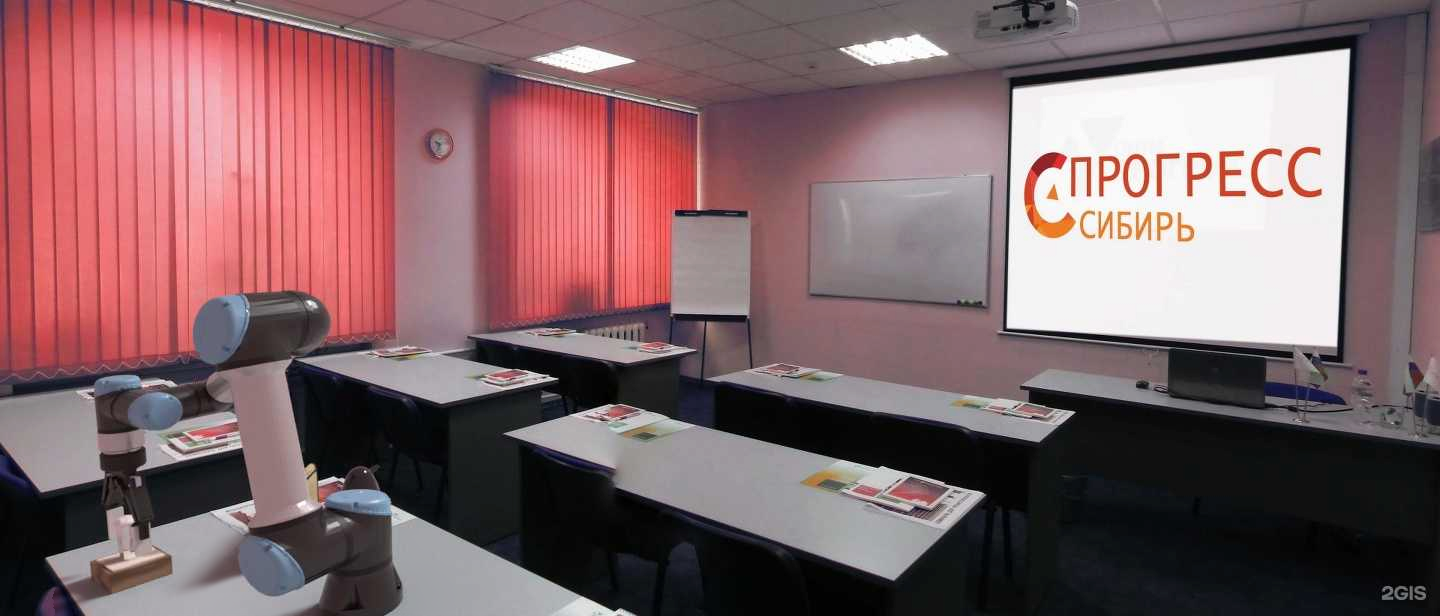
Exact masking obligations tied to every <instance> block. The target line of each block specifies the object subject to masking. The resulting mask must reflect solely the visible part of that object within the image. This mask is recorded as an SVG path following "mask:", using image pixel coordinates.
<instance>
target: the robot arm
mask: <svg viewBox="0 0 1440 616" xmlns="http://www.w3.org/2000/svg"><path fill="white" fill-rule="evenodd" d="M331 319H332V318H331V314H330V312H329V310H328V308H327V307H326V305H325V303H324V302H323V301H322V300H321V299H319V298H318V297H316V296H315V295H313V294H310V293H308V292H306V291H302V290H295V289H294V290H292V289H290V290H288V289H287V290H282V291H281V290H280V291H264V292H263V291H262V292H247V293H246V292H245V293H232V294H228V295H221V296H215V297H213V298H210V299H208V300H207V301H206V302H205V303H203V304H202V305H201V307H200V308H199V309H198V312H197V314H196V316H195V318H194V321H193V325H192V327H193V328H192V343H193V347H194V350H195V352H196V354H197V355H199V359H200V360H201V361H202V362H205V363H207V364H209V365H213V366H214V367H215V372H213V373H212V374H210V375H209V376H208V377H207V378H206V379H205V380H201V381H196V382H191V383H186V384H181V385H174V386H169V387H163V388H157V389H152V390H151V389H150V390H146V389H143V385H142V382H141V378H140V376H137V375H134V374H121V375H119V374H118V375H111V376H105V377H102V378H98V379H97V380H96V381H95V382H94V385H93V387H94V395H93V400H94V408H95V418H96V429H97V432H96V435H97V436H96V437H97V447H98V448H97V449H98V451H100V453H99V454H98V456H99V469H100V470H101V472H102V471H103V472H104V479H103V486H102V494H101V501H100V503H101V505H104V508H105V509H106V521H107V522H106V523H107V531H108V532H107V534H108V540H114V539H117V538H116V534H115V529H114V525H113V523H114V522H115V521H116V520H117V519H118V518H120V517H122V516H125V512H124V511H125V510H124V505H126V504H125V501H124V499H125V500H126V503H127V506H128V509H129V512H130V515H132V517H133V520H134V523H132V525H131V527H133V536H134V549H135V555H136V556H138V555H142V554H145V553H148V552H151V551H152V545H153V543H152V542H153V541H152V529H151V523H152V522H155V521H156V517H155V514H154V511H153V507H152V506H153V505H152V502H151V499H150V494H149V492H148V487H147V480H146V476H145V475H144V474H143V475H140V474H139V473H138V469H139V468H140V467H143V466H145V465H146V464H147V449H146V447H145V446H144V445H145V444H146V440H145V439H146V438H145V434H147V432H148V431H149V432H150V431H153V432H154V431H155V432H156V431H157V432H160V431H165V430H168V429H170V428H172V427H173V426H174V425H176V424H177V423H180V422H183V421H188V420H189V421H190V420H192V419H196V418H202V417H205V416H210V415H211V416H212V415H215V414H220V413H221V414H222V413H228V412H230V411H232V410H234V413H235V417H236V422H237V427H238V428H237V429H238V432H239V437H240V442H241V447H242V451H243V456H244V461H245V466H246V471H247V476H248V481H249V486H250V491H251V496H252V500H253V506H254V511H255V514H254V515H253V517H251V519H250V520H249V522H248V523H247V528H248V533H249V536H247V537H246V538H244V540H243V541H242V542H241V543H240V544H239V547H238V551H237V562H238V565H239V569H240V571H241V572H242V575H243V577H244V578H245V580H246V582H247V583H248V584H249V585H250V586H251V587H252V588H253V589H254V590H255V591H257V592H258V593H259V594H262V595H264V596H267V597H274V598H275V597H276V598H277V597H281V596H283V595H285V594H288V593H291V592H293V591H298V590H301V588H303V587H304V586H306V585H308V584H310V583H312V582H314V581H316V580H318V579H320V578H322V577H324V576H326V578H325V581H324V585H323V588H322V592H321V595H320V598H319V600H318V601H319V602H318V606H319V616H385V615H386V614H388V613H390V612H391V611H392V610H394V609H395V608H397V607H398V606H399V605H400V603H402V601H403V598H404V585H403V582H402V580H401V578H400V575H399V573H398V571H397V568H396V566H395V563H394V562H393V539H392V538H393V533H392V532H393V531H392V530H393V529H392V527H393V526H392V524H393V523H392V521H393V520H392V519H393V518H392V515H393V512H392V508H391V499H390V497H389V496H388V495H387V493H385V492H383V491H381V490H380V491H376V490H368V489H355V490H345V491H341V490H339V491H336V492H332V493H330V494H329V495H327V496H326V497H325V498H324V499H325V500H324V502H323V505H322V502H321V503H320V501H319V502H317V501H315V500H313V499H312V498H311V497H310V493H309V489H308V484H307V479H306V474H305V464H304V460H303V455H302V450H301V445H300V440H299V435H298V430H297V424H296V421H295V417H294V411H293V405H292V400H291V397H290V390H289V384H288V380H287V376H286V373H285V372H286V369H287V368H288V367H289V365H290V364H291V363H292V362H293V359H294V358H297V357H299V358H300V357H304V356H306V355H309V354H310V353H311V352H313V351H314V350H316V349H317V348H318V347H319V346H320V345H321V344H323V342H325V341H326V338H327V337H328V335H329V333H330V331H331V325H332V321H331ZM323 506H324V508H323Z"/></svg>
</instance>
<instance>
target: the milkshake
mask: <svg viewBox="0 0 1440 616" xmlns="http://www.w3.org/2000/svg"><path fill="white" fill-rule="evenodd" d="M132 523H134V520H133V517H132V515H131V514H124V516H122V517H120V518H118V519H117V520H116V521H115V522H114V523H113V525H114V529H115V534H116V538H115V539H116V541H117V547H118V553H120V559H121V560H124V561H125V560H131V559H135V558H137V557H138V556H140V555H138V556H136V555H135V549H134V536H133V527H131V525H132Z"/></svg>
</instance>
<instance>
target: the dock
mask: <svg viewBox="0 0 1440 616" xmlns="http://www.w3.org/2000/svg"><path fill="white" fill-rule="evenodd" d="M89 566H90V577H91V580H92V581H93V582H95V583H96V584H97V585H99V586H100V587H102V588H103V589H105V590H106V591H107V592H108V593H111V594H112V595H113V594H117V593H119V592H122V591H125V590H128V589H131V588H133V587H137V586H139V585H143V584H145V583H149V582H150V581H154V580H156V579H160V578H163V577H165V576H169V575H171V574H173V573H174V571H173V569H174V568H173V557H172V555H171V554H169V553H167V552H166V551H164V550H162V549H160V548H159V547H157V546H155V545H153V544H152V551H151V552H148V553H145V554H142V555H140V556H138V557H137V558H135V559H131V560H125V561H124V560H121V559H120V553H119V552H117V553H113V554H109V555H106V556H102V557H99V558H96V559H94V560H90V561H89Z"/></svg>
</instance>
